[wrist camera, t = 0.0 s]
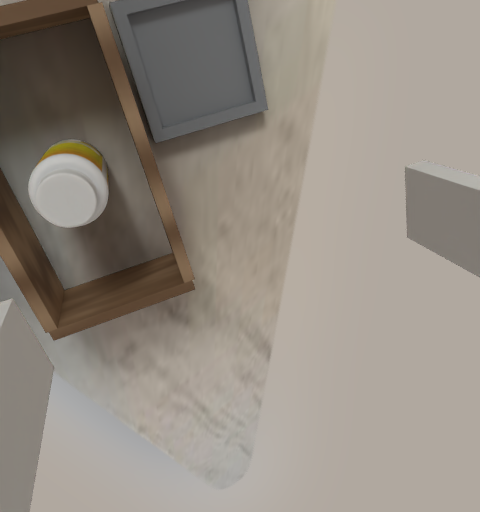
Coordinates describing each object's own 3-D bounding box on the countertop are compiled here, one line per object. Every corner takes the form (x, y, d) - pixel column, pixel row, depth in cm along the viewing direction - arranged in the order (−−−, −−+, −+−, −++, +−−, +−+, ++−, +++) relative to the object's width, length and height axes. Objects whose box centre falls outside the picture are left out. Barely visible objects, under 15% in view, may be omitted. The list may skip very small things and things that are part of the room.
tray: (109, 5, 33) (109, 2, 31) (236, -25, 34) (242, -29, 33) (153, 140, 38) (155, 143, 36) (262, 108, 40) (268, 109, 38)
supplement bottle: (30, 147, 35) (6, 173, 26) (95, 131, 36) (92, 150, 27) (57, 206, 38) (42, 248, 29) (116, 189, 39) (120, 225, 30)
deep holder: (-82, 42, 30) (-129, 35, 24) (97, 0, 32) (95, -16, 26) (58, 301, 41) (51, 341, 35) (184, 257, 43) (197, 288, 37)
